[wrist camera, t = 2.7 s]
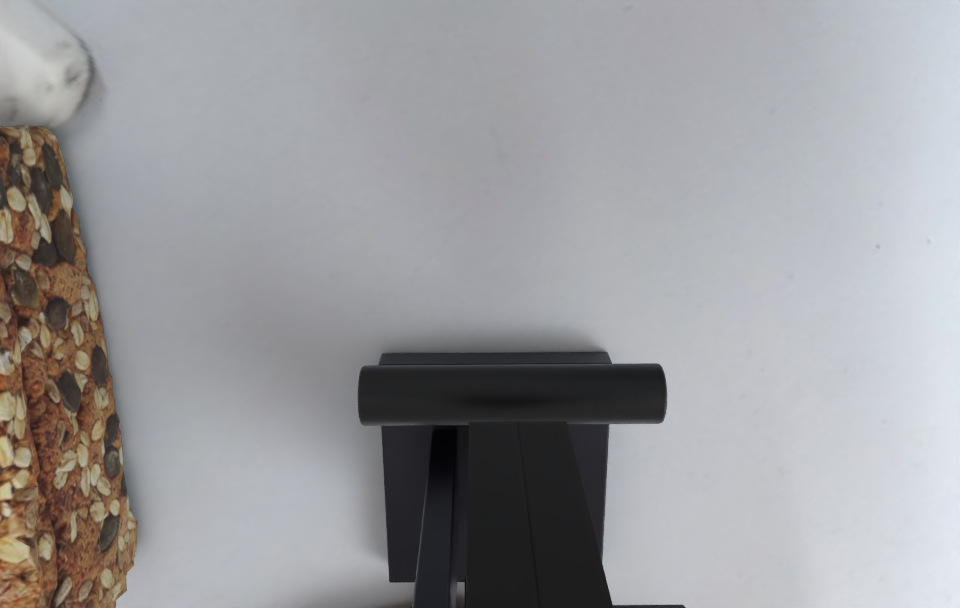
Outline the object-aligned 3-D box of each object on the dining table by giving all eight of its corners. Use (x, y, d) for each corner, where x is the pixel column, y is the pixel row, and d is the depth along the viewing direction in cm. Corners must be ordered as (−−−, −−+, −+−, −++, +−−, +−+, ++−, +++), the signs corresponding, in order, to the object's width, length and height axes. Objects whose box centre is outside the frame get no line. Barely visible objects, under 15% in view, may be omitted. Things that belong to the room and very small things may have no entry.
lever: (364, 332, 16) (352, 424, 14) (654, 330, 16) (677, 422, 14) (406, 616, 25) (402, 695, 23) (594, 615, 25) (603, 694, 23)
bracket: (381, 352, 31) (329, 526, 20) (607, 351, 31) (681, 523, 20) (391, 565, 34) (351, 817, 23) (597, 563, 34) (655, 814, 23)
